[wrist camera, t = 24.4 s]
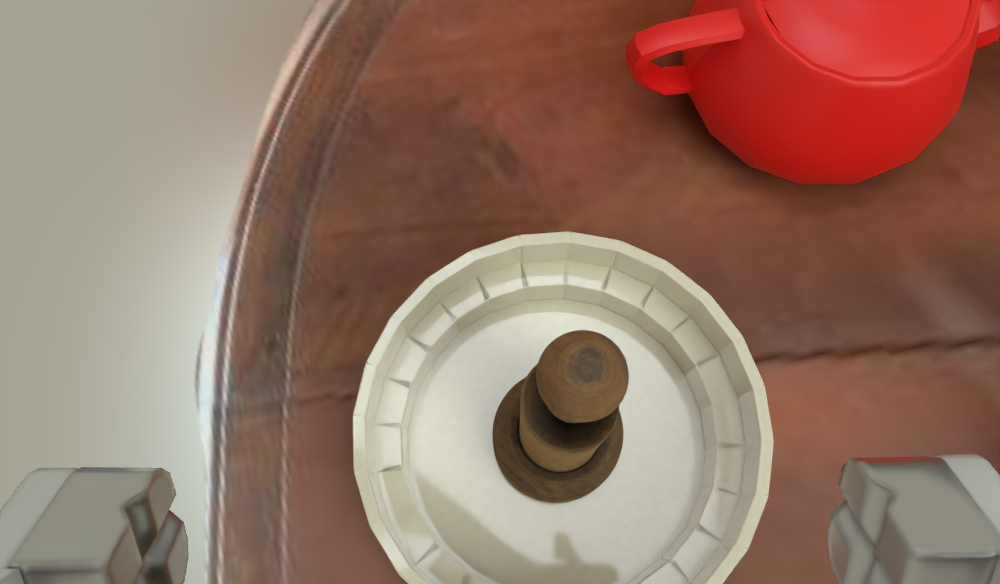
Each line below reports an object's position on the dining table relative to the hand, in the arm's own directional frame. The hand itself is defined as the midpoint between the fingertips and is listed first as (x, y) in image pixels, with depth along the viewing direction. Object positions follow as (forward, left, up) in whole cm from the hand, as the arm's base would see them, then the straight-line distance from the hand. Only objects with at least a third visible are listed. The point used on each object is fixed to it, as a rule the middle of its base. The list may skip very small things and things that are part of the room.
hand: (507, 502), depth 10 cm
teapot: (+26, +19, -34) cm, 47 cm away
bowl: (+4, +4, -34) cm, 34 cm away
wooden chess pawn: (+4, +4, -33) cm, 34 cm away
